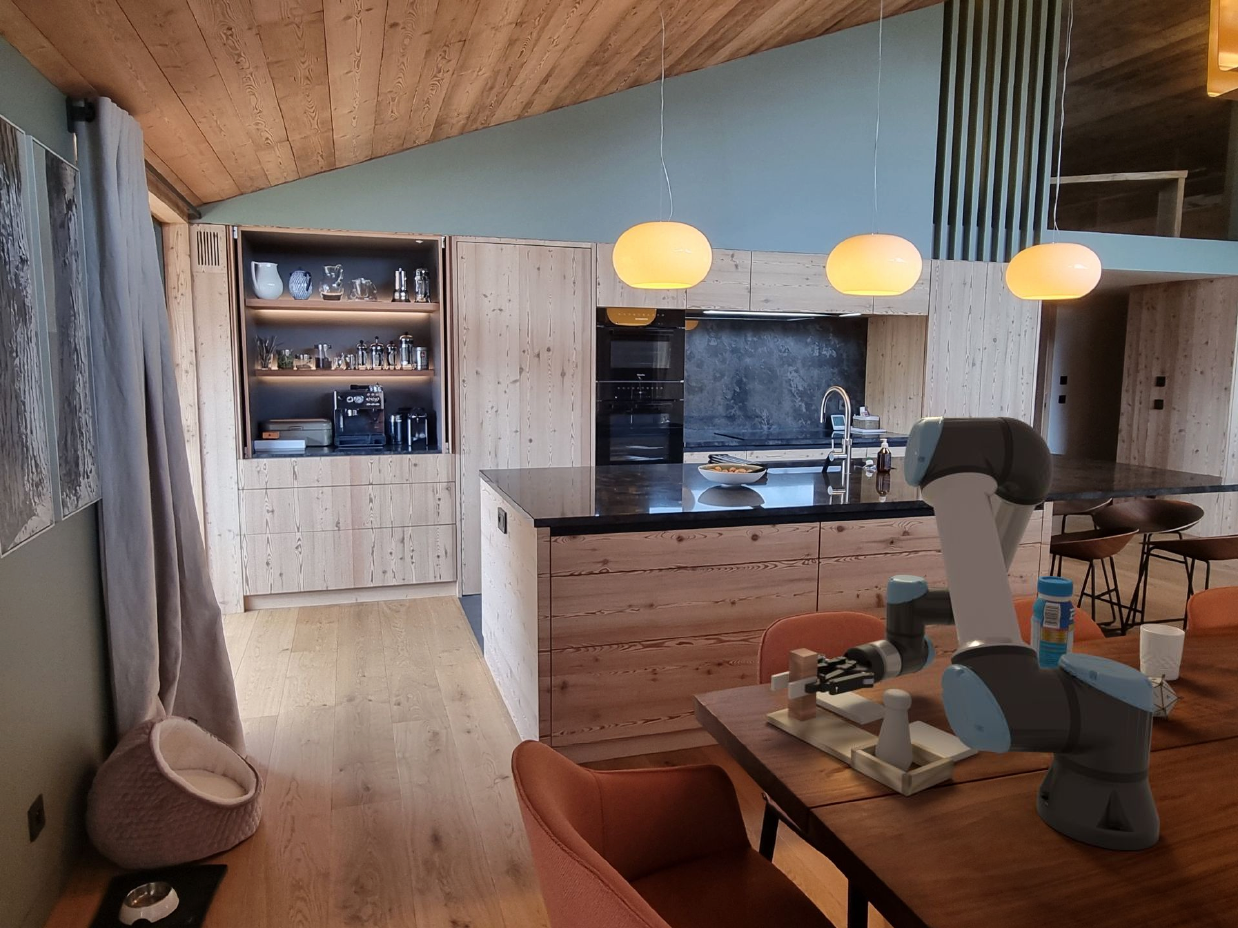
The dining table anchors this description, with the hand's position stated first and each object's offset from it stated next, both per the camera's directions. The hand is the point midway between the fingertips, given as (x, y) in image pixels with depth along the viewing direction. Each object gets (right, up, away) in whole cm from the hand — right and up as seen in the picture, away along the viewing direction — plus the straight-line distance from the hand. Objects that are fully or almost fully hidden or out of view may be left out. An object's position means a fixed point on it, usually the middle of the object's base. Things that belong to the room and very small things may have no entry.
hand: (781, 687), depth 146 cm
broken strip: (+20, -8, +4) cm, 22 cm away
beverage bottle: (+65, -5, +32) cm, 72 cm away
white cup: (+86, -6, +29) cm, 91 cm away
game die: (+71, -8, +8) cm, 71 cm away
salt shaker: (+15, -10, -13) cm, 23 cm away
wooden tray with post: (+11, -9, -6) cm, 15 cm away
